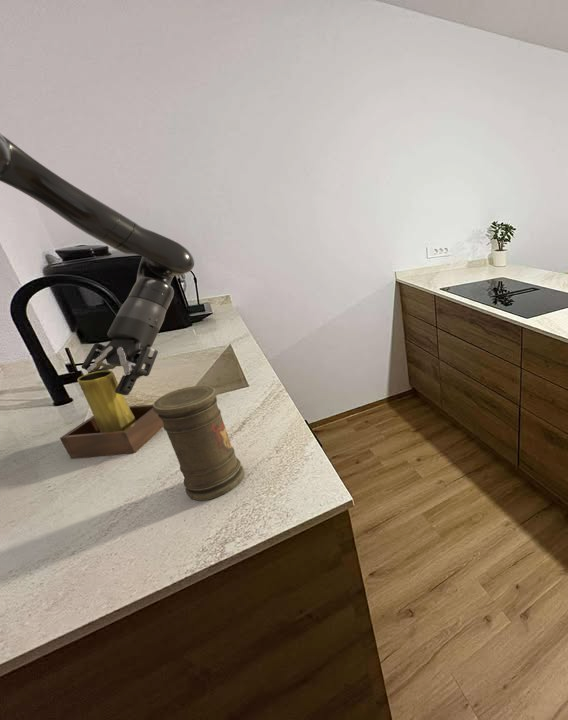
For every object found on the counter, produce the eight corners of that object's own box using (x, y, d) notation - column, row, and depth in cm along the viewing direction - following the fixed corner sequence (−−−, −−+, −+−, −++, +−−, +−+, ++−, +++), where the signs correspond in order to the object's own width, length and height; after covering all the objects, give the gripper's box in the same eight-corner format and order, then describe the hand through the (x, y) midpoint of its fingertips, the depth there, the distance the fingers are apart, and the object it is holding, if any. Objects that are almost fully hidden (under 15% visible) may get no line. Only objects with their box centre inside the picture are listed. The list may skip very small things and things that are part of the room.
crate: (70, 458, 75) (59, 438, 73) (113, 426, 86) (104, 407, 84) (134, 452, 77) (125, 432, 75) (169, 422, 87) (161, 403, 85)
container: (203, 507, 63) (166, 416, 56) (176, 489, 67) (139, 401, 60) (255, 476, 70) (228, 391, 63) (228, 461, 74) (200, 379, 67)
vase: (136, 438, 80) (109, 378, 74) (98, 446, 77) (67, 384, 72) (144, 424, 85) (119, 367, 79) (109, 431, 82) (81, 372, 77)
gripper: (94, 313, 80) (55, 384, 75) (149, 315, 78) (114, 389, 72) (128, 328, 87) (95, 395, 82) (180, 331, 85) (150, 400, 79)
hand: (104, 392), depth 77 cm, fingers open, 8 cm apart
